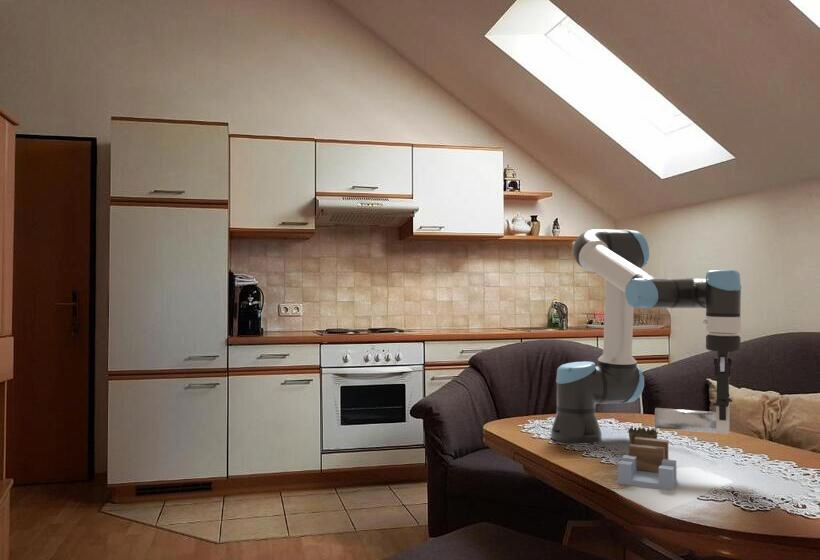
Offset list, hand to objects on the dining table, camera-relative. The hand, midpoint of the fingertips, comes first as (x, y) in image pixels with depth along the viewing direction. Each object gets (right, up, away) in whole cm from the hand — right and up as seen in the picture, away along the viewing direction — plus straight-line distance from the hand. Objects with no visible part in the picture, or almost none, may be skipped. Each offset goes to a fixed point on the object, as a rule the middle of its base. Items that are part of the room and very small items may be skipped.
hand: (722, 430), depth 158 cm
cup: (-13, -12, +18) cm, 25 cm away
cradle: (-19, -12, -3) cm, 23 cm away
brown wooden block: (-15, -12, +7) cm, 20 cm away
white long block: (-7, +2, +3) cm, 7 cm away
